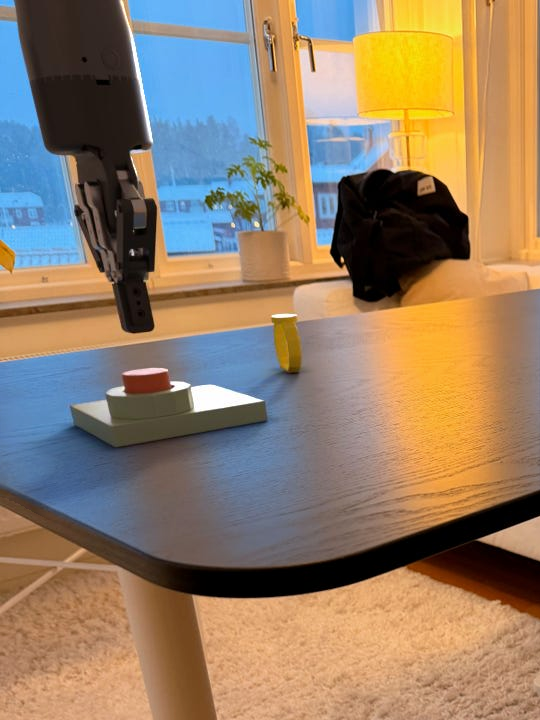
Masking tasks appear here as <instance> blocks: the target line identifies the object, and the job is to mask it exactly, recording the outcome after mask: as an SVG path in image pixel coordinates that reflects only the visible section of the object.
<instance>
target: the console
mask: <svg viewBox="0 0 540 720" xmlns="http://www.w3.org/2000/svg"><path fill="white" fill-rule="evenodd" d="M170 383H171V388H172V389H169V390H165V391H159V392H153V393H139V394H131V393H126V392H125V387H124V385H121V386H118V387H113V388H111V389H109V390H107V391H106V392H105V398H106V399H102V400H95V401H90V402H83V403H76V404H70V405H69V409H70V414H71V418H72V422H73V424H74V426H76V427H78V428H80V429H82V430H83V431H85V432H87V433H89V434H90V435H92V436H94V437H96V438H98V439H99V440H101V441H103V442H104V443H106V444H108V445H110V446H112V447H114V448H123V447H127V446H133V445H138V444H139V445H140V444H144V443H150V442H156V441H161V440H166V439H172V438H173V439H174V438H178V437H183V436H188V435H194V434H199V433H200V434H201V433H205V432H212V431H218V430H223V429H229V428H233V427H239V426H240V427H241V426H245V425H246V426H247V425H251V424H257V423H261V422H267V421H268V413H267V407H266V401H265V400H263V399H260V398H256V397H253V396H250V395H247V394H244V393H241V392H237V391H234V390H231V389H228V388H224V387H221V386H218V385H214V384H211V383H210V384H204V385H196V386H192V385H191V384H190V383H187V382H184V381H174V380H173V381H172V380H170Z"/></svg>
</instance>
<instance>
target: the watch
mask: <svg viewBox="0 0 540 720" xmlns="http://www.w3.org/2000/svg"><path fill="white" fill-rule="evenodd" d="M270 317H271V323H272V324H273V342H274V343H273V344H274V349H275V353H276V354H275V355H276V357H277V361H278V363H279V366H280V369H283V370H284V371H285V372H287V373H288V374H291V373H292V374H293V373H300V371H301V368H302V364H303V360H302V359H303V358H302V357H303V352H302V345H301V338H300V335H299V330H298V327H297V325H296V323H297V322H298V315H297V314H295V313H280V314H274V315H271V316H270Z"/></svg>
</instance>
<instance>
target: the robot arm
mask: <svg viewBox="0 0 540 720" xmlns="http://www.w3.org/2000/svg"><path fill="white" fill-rule="evenodd" d="M13 3H14V8H15V14H16V23H17V24H16V25H17V33H18V40H19V44H20V48H21V53H22V58H23V61H24V66H25V69H26V74H27V78H28V83H29V87H30V91H31V96H32V100H33V104H34V108H35V113H36V117H37V122H38V125H39V129H40V134H41V137H42V143H43V146H44V148H45V150H46V151H47V152H49V153H50V154H52V155H55V156H70V157H73V158H74V159H75V162H76V165H75V167H76V174H77V183H75V184H74V190H75V196H76V200H77V204H74V205H73V206H74V209H73V213H74V217H75V218H76V220H77V223H78V225H79V227H80V230H81V232H82V235H83V237H84V239H85V241H86V243H87V246H88V248H89V250H90V252H91V256H92V257H93V260H94V262H95V265H96V268H97V269H98V272H99V273H100V274H104V276H105V278H106V279H107V281H108V282H109V283H111V287H112V290H113V291H112V292H113V296H114V301H115V305H116V309H117V314H118V318H119V324H120V327H121V330H122V331H123V332H125V333H127V334H133V335H135V334H143V333H151V332H153V331H154V329H155V327H156V326H155V320H154V315H153V311H152V306H151V301H150V296H149V295H150V294H149V291H148V286H147V282H146V281H148V280H149V278H150V277H149V276H150V273H154V272H155V270H156V246H157V245H156V244H157V224H158V206H157V203H156V201H155V199H154V198H153V197H146V196H145V195H146V194H145V190H144V189H145V188H144V186H143V183H142V181H141V180H140V179H139V176H138V173H137V170H136V167H135V164H134V161H133V158H132V156H131V155H133V154H140V153H147V152H149V151H150V150H152V148H153V145H154V141H153V137H152V135H153V134H152V131H151V125H150V120H149V114H148V109H147V104H146V98H145V93H144V89H143V88H144V86H143V83H142V77H141V72H140V66H139V62H138V61H139V60H138V57H137V52H136V51H137V50H136V45H135V41H134V36H133V33H132V30H131V27H130V24H129V20H128V17H127V14H126V9H125V5H124V1H123V0H13Z"/></svg>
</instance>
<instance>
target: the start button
mask: <svg viewBox="0 0 540 720" xmlns="http://www.w3.org/2000/svg"><path fill="white" fill-rule="evenodd" d="M121 377H122V382H123V386H124V387H125V392H126V393H131V394H139V393H153V392H159V391H165V390H169V389H172V388H171V383H170V381H171V379H170V373H169V370H168V369H167V368H162V367H148V368H146V367H145V368H138V369H132V370H128V371H123V372H122V373H121Z"/></svg>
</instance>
